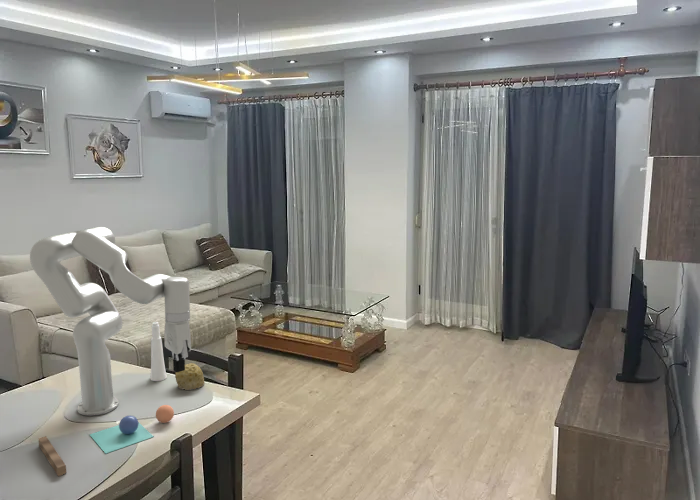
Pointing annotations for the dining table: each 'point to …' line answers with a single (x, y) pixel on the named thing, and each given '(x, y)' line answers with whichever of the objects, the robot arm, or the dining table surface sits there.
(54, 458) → the walnut rail
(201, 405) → the dining table surface
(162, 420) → the orange ball
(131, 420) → the navy ball
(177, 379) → the rock
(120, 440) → the teal mark
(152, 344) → the cosmetic bottle
